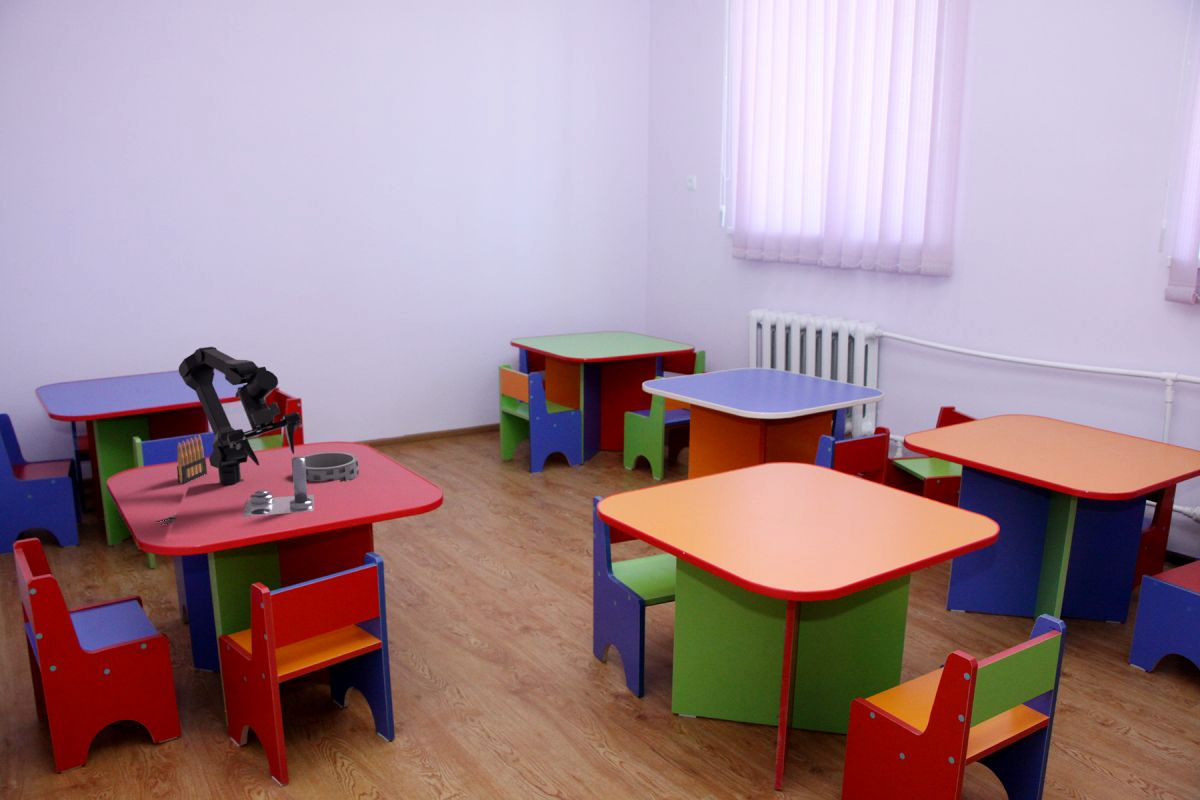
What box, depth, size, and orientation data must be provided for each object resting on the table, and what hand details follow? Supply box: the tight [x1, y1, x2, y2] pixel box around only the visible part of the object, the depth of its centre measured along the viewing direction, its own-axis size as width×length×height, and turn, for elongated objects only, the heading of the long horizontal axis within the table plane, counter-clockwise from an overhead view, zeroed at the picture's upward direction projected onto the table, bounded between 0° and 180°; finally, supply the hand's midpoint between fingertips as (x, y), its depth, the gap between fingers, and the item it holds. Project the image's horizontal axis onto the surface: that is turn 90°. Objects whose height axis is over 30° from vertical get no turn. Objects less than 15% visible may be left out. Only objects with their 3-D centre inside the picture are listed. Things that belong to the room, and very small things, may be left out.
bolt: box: [290, 456, 313, 510], centre depth 242 cm, size 6×6×13 cm
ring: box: [302, 451, 360, 483], centre depth 274 cm, size 18×18×5 cm
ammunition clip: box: [176, 434, 208, 485], centre depth 271 cm, size 11×2×12 cm, turn 167°
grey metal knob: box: [250, 489, 274, 504], centre depth 248 cm, size 6×6×2 cm
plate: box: [242, 494, 315, 518], centre depth 245 cm, size 14×17×1 cm
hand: (276, 459), depth 248 cm, fingers open, 9 cm apart
